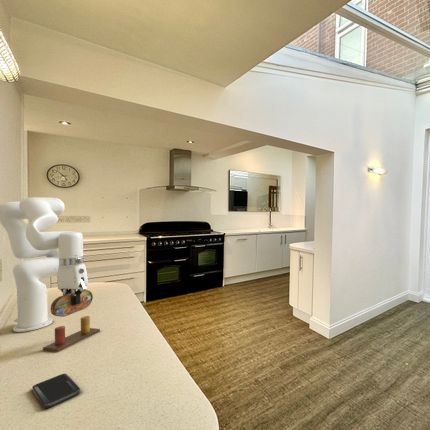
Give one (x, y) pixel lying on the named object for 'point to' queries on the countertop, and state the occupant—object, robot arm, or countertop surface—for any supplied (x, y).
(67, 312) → the tin
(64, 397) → the phone
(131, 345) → the countertop surface
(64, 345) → the rod stand
